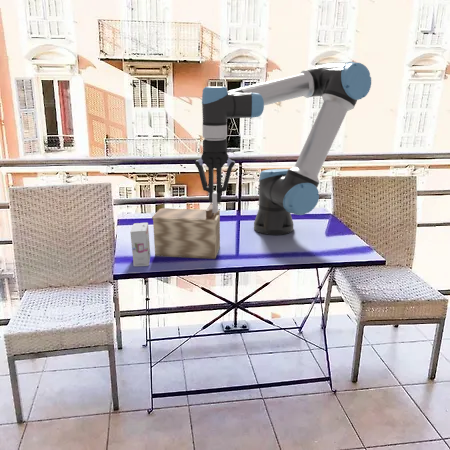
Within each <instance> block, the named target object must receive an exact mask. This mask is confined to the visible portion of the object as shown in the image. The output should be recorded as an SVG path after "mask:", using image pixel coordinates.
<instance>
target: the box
mask: <svg viewBox="0 0 450 450" xmlns="http://www.w3.org/2000/svg"><path fill="white" fill-rule="evenodd" d="M161 209H173V208H172V207H171V208H170V207H169V208H166V207H162V208H161ZM181 209H182V210H201V209H195V208H192V209H191V208H181ZM220 212H221V210H220V209H218V212H217V214H216V216H215V218H214V220H207V219H181V218H155V217H153V216H152V217H153V220H152V223H153V225H152V226H153V239H154V240H153V241H154V256H155V257H168V258H170V257H171V258H187V259H189V258H191V259H208V260H209V259H210V260H211V259H212V260H215V259H216V258H217V255H218V253H219V250H220V248H221V221H220V220H221V217H220V216H221V213H220Z"/></svg>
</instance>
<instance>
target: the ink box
mask: <svg viewBox="0 0 450 450" xmlns="http://www.w3.org/2000/svg"><path fill="white" fill-rule="evenodd" d="M130 241H131V243H130V244H131V253H132V262H133V267H148V266H150V262H151V256H152V255H151V245H150V244H151V243H150V242H151V241H150V231H149V222H140V223H139V222H136V223H135V222H134V223H133V225H132V227H131V229H130Z"/></svg>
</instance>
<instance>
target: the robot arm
mask: <svg viewBox="0 0 450 450" xmlns="http://www.w3.org/2000/svg"><path fill="white" fill-rule="evenodd" d="M371 87H372V77H371V73H370V71H369V68H368V67H367V66H366V65H365V64H364V63H361V62H355V61H348V62H327V63H325V64H322V65H321V64H320V65H318V66H315V67H312V68H308V69H304V70H301V72H299V74H296V75H291V76H286V77H283V78H279V79H274V80H270V81H266V82H260V83H256V84H252V85H248V86H243V87H239V88H234V89H230V90H228V88H227V87H226V86H205V87H204V88H203V90H202V95H201V96H202V97H201V104H202V105H201V108H202V109H201V111H202V112H201V113H202V138H203V140H202V154H201V157H200V158H199V159H196V160H195V161H194V165H195V166H196V168H197V171H198V174H199V178H200V182H201V186H202V190H203V192H208V201H209V203H211V204H212V213H217V212H218V210H219V203H221V201H222V193H223V192H226V190H227V189H228V186H229V181H230V178H231V173H232V171H233V170H232V169H233V167H234V166H235V164H236V161H235V160H232V159H231V158H229V157H230V156H229V154H228V140H227V137H228V119H249V118H250V119H253V118H259V117H261V116H262V115H263V113H264V110H265V106H268V105H273V104H277V103H280V102H284V101H288V100H289V101H290V100H292V99H296V98H300V97H304V98H305V99H306V98H307V99H309V98H314V97H322V100H323V103H322V105H321V106H320V110H319V111H318V114H317V116H316V119H315V121H314V122H313V125H312V127H311V129H310V131H309V133H308V136H307V137H306V140H305V143H304V144H303V147H302V149H301V152H300V154H299V155H298V158H297V160H296V162H295V164H294V166H293V167H290V168H272V169H265V170H262V171H260V173H259V178H258V179H259V180H258V182H259V183H258V184H259V185H258V187H259V189H258V210H257V213H256V216H255V219H254V222H253V229H254V231H255V232H257V233H259V234H263V235H271V236H272V235H273V236H278V235H279V236H280V235H287V234H290V233H292V232H293V231H294V226H295V225H294V220H293V217H292V214H294V215H297V216H302V215H306V214H309V213H311V211H312V210H313V209H315V207H316V206H317V205H318V203H319V199H320V194H319V193H320V191H319V189H318V186H319V184H320V180H319V177H318V176H319V174H320V172H321V169H322V168H323V165H324V163H325V160H326V159H327V156H328V155H329V152H330V150H331V148H332V146H333V144H334V141H335V139H336V137H337V135H338V132H339V131H340V128H341V126H342V123H343V122H344V119H345V117H346V115H347V113H348V111H352V110H353V109H355V106H356V104H357V101H359V100H362V99H363V98H365V97H366V96H367V95H368V94H369V92H370V90H371ZM226 163H227V164H226ZM203 164H205V166H206V167H207V168H208V169H207V170H208V171H207V172H208V182H207V177H206V174H205V169H204V166H203ZM225 164H226V166H227V169H226V172H225V177H224V182H223V185H222V170H223V167H224V165H225ZM215 169H216V172H215V173H216V190H215V191H214V188H215V187H214V185H215V184H214V170H215Z"/></svg>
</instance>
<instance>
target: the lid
mask: <svg viewBox="0 0 450 450" xmlns="http://www.w3.org/2000/svg"><path fill="white" fill-rule="evenodd" d="M206 208H207V209H200V210H182V209H183V208H172V209H162V208H159V209H158V210H157V211H156V212H155V213H154V214H153V215H152V217H151V220H152V221H153V217H155V218H181V219H207V220H214V218H215V216H216V214H217V213H212V203H209V205H208V207H206Z"/></svg>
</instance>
